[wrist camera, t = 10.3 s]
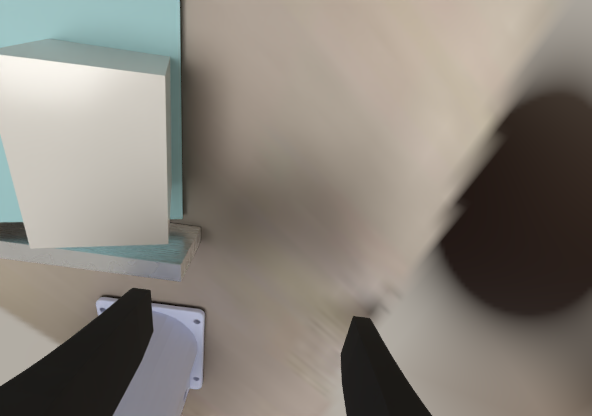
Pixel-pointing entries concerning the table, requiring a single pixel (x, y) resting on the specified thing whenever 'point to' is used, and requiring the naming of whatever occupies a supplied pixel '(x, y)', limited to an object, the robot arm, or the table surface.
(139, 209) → the stone block
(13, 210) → the trapdoor
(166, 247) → the frame
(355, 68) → the table surface
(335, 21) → the table surface
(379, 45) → the table surface
